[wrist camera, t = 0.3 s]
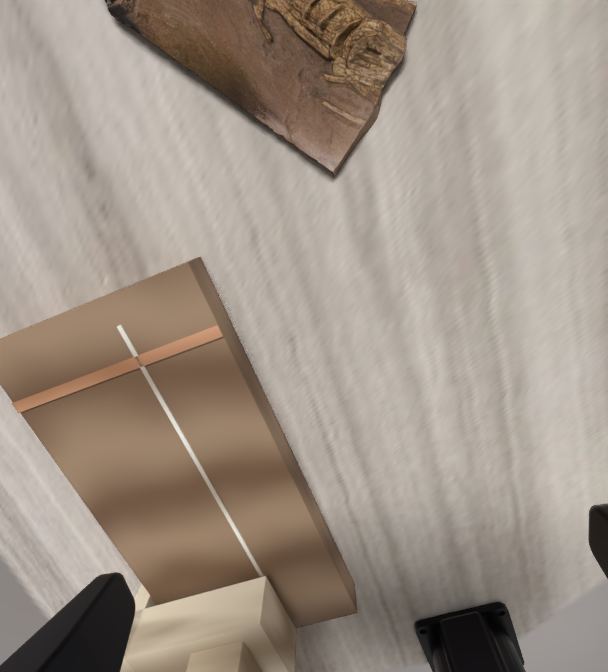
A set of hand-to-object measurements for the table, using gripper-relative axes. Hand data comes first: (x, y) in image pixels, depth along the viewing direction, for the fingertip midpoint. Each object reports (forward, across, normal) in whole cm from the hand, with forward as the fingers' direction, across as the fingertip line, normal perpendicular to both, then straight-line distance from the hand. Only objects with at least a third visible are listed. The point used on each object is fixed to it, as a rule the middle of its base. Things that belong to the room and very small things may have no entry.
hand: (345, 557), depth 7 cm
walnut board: (+14, +10, +8) cm, 19 cm away
